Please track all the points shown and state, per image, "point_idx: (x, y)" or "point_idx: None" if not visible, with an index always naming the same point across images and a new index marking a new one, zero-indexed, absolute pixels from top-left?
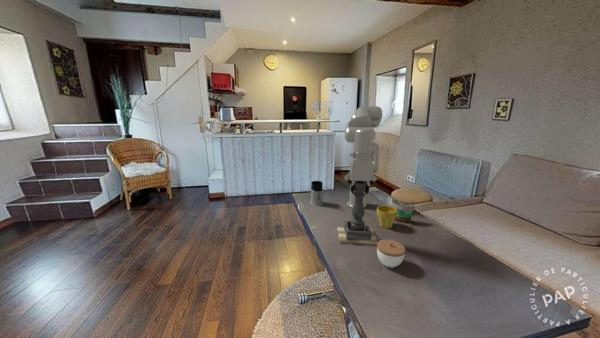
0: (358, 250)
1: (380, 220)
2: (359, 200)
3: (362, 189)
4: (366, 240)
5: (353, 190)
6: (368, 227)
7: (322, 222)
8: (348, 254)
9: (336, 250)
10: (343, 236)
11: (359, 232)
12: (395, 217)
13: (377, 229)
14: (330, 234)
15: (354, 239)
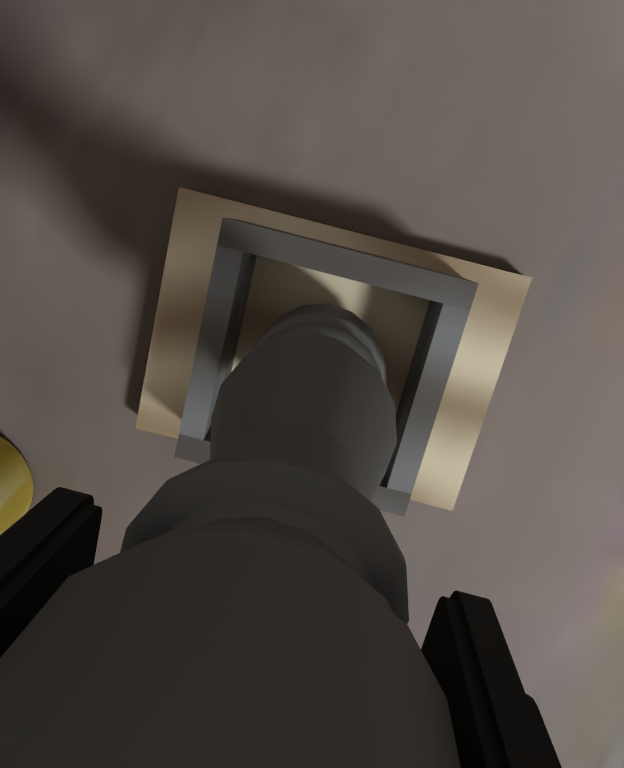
0: (405, 126)
1: (5, 492)
2: (303, 451)
3: (200, 555)
4: (280, 226)
5: (492, 666)
6: (204, 333)
7: (533, 639)
8: (524, 78)
9: (605, 161)
10: (468, 333)
11: (347, 249)
12: None
13: (82, 430)
14: (546, 428)
15: (389, 258)
